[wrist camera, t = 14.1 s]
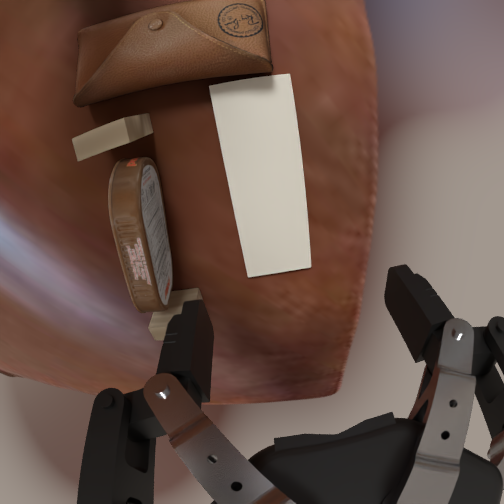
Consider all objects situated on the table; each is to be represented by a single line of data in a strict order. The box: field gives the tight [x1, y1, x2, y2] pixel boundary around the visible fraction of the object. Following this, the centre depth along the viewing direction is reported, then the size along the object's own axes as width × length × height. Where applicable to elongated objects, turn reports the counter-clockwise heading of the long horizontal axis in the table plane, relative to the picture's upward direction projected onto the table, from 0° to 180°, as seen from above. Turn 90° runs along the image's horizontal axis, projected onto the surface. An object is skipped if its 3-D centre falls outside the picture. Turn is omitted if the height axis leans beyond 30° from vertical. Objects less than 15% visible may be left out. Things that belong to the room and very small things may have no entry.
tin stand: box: [72, 113, 203, 340], centre depth 25 cm, size 22×5×6 cm, turn 9°
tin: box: [108, 157, 173, 313], centre depth 24 cm, size 15×3×8 cm, turn 0°
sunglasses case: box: [73, 0, 273, 107], centre depth 17 cm, size 18×7×7 cm
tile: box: [209, 74, 311, 277], centre depth 26 cm, size 20×7×1 cm, turn 9°
